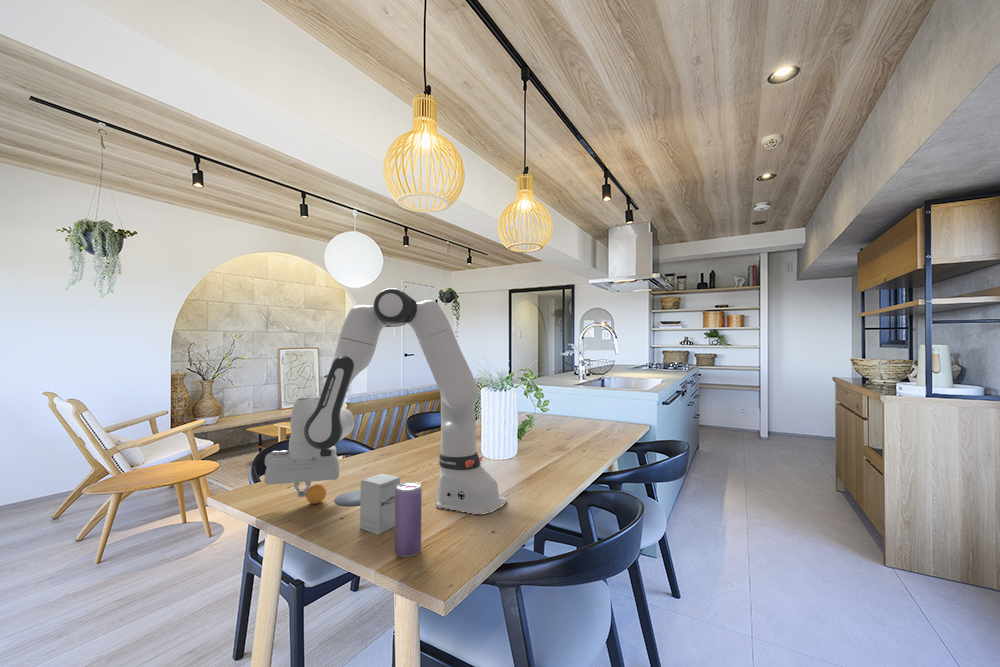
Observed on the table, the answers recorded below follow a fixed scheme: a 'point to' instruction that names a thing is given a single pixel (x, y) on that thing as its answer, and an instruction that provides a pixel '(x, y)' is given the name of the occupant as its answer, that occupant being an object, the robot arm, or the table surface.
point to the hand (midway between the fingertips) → (301, 496)
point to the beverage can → (408, 519)
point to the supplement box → (378, 503)
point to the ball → (316, 493)
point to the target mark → (349, 498)
